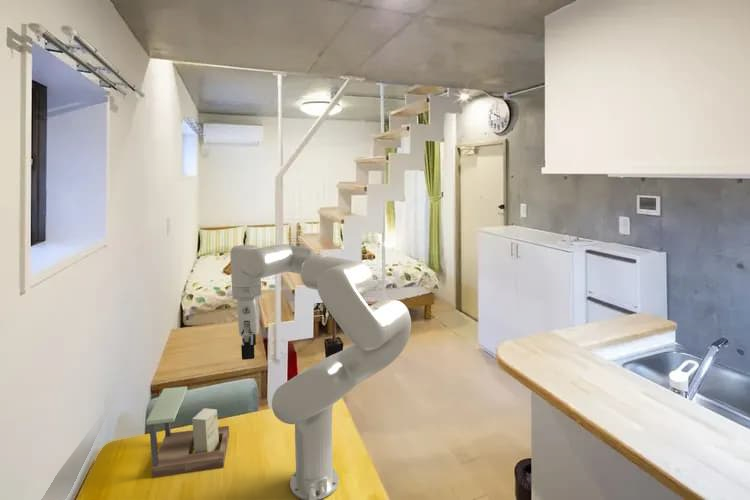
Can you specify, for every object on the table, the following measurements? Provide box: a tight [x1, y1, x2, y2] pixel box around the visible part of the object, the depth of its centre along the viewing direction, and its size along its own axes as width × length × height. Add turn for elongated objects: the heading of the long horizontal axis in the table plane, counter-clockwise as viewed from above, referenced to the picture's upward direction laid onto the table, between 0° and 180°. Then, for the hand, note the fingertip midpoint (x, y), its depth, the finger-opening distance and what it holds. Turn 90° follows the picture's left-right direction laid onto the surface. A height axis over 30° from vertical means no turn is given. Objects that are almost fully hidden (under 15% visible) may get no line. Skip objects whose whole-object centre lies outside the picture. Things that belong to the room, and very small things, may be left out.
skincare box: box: [191, 407, 220, 454], centre depth 121 cm, size 6×4×12 cm
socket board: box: [145, 386, 230, 479], centre depth 119 cm, size 18×18×17 cm
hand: (249, 351), depth 114 cm, fingers open, 9 cm apart
